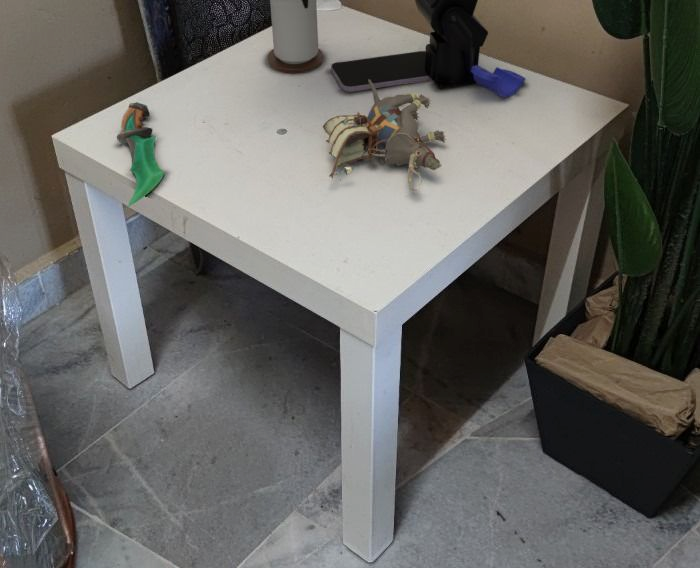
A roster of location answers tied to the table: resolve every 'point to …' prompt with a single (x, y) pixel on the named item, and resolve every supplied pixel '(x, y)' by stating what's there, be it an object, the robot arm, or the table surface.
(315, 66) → the coaster
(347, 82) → the smartphone
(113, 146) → the table surface
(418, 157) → the figurine
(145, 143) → the knife
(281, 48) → the beverage can
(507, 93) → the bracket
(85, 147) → the table surface
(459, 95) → the table surface
